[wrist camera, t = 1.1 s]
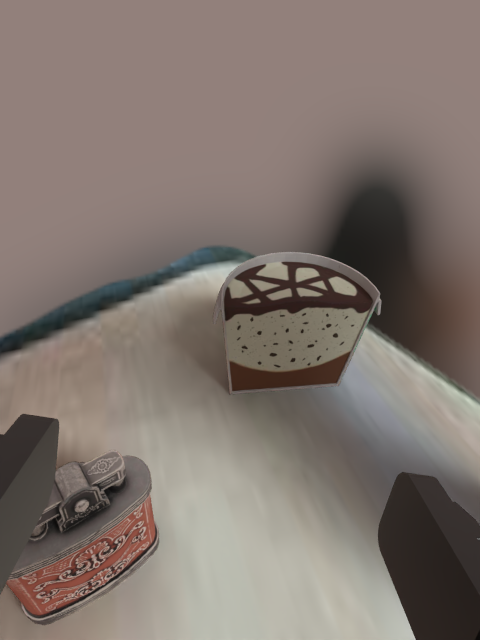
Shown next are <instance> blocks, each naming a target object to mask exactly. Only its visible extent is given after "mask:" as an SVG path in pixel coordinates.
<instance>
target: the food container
mask: <svg viewBox="0 0 480 640" xmlns="http://www.w3.org/2000/svg"><path fill="white" fill-rule="evenodd" d="M379 296H380V292H379V291H378V290H377V288H376V287H375V286H374V285H373V284H372V283H371V282H370V281H369V280H368V279H367V278H366V277H365V276H363V275H362V274H361V273H359V272H358V271H356V270H355V269H353V268H351V267H349V266H347V265H345V264H343V263H341V262H338V261H335V260H333V259H330V258H327V257H323V256H319V255H314V254H308V253H299V252H280V253H272V254H266V255H262V256H258V257H255V258H253V259H250V260H248V261H246V262H244V263H242V264H241V265H239V266H238V267H236V268H235V269H234V270H233V271H232V272H231V273H230V274H229V276H228V277H227V278H226V280H225V282H224V283H223V285H222V287H221V289H220V291H219V294H218V298H217V301H216V304H215V308H214V313H213V324H216V321H217V318H218V314H219V311H220V310H222V320H223V331H224V341H225V352H226V362H227V372H228V383H229V393H230V394H242V393H255V392H268V391H281V390H294V389H307V388H320V387H333V386H339V384H340V382H341V380H342V377H343V375H344V373H345V371H346V369H347V367H348V364H349V362H350V360H351V358H352V356H353V354H354V351H355V349H356V347H357V345H358V343H359V341H360V339H361V336H362V334H363V332H364V330H365V328H366V326H367V323H368V321H369V319H370V317H371V315H372V313H373V310H375V312H376V313H377V315H380V308H381V299H380V298H379Z"/></svg>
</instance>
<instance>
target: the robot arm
mask: <svg viewBox="0 0 480 640" xmlns="http://www.w3.org/2000/svg"><path fill="white" fill-rule="evenodd" d="M58 434H59V421H58V419H54V418H47V417H40V416H34V415H27V414H22V415H20V417H19V418H18V419H17V420H16V421H15V422H14V424H13V425H12V426H11V427H10V429H9V430H8V431H7V432H6V433H5V435H1V434H0V594H1V592H2V590H3V588H4V586H5V584H6V582H7V580H8V578H9V576H10V575H11V573H12V571H13V569H14V567H15V565H16V563H17V561H18V559H19V557H20V555H21V554H22V552H23V550H24V548H25V546H26V544H27V542H28V540H29V538H30V536H31V534H32V533H33V531H34V529H35V527H36V525H37V523H38V521H39V519H40V517H41V515H42V514H43V512H44V510H45V508H46V506H47V504H48V501H49V499H50V496H51V493H52V489H53V485H54V480H55V472H56V459H57V447H58ZM378 541H379V547H380V551H381V554H382V556H383V559H384V561H385V564H386V566H387V569H388V571H389V574H390V576H391V579H392V581H393V584H394V586H395V589H396V591H397V594H398V596H399V599H400V601H401V604H402V606H403V609H404V611H405V614H406V616H407V619H408V621H409V624H410V626H411V629H412V631H413V634H414V636H415V639H416V640H480V526H479V524H478V523H477V521H476V520H475V519H474V518H473V517H472V516H471V515H470V514H468V513H467V512H466V511H465V510H464V509H463V508H462V507H461V506H459V505H458V504H457V503H456V502H452V501H451V499H450V498H449V496H448V495H447V493H446V492H445V490H444V489H443V487H442V486H441V484H440V483H439V481H438V480H437V479H436V478H434V477H431V476H425V475H418V474H411V473H405V472H402V473H400V474H399V475H398V476H397V478H396V480H395V483H394V485H393V488H392V491H391V494H390V496H389V499H388V502H387V504H386V507H385V510H384V513H383V515H382V518H381V521H380V524H379V530H378Z"/></svg>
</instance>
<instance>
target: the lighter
mask: <svg viewBox="0 0 480 640" xmlns="http://www.w3.org/2000/svg"><path fill="white" fill-rule="evenodd" d="M151 489H152V486H151V474H150V471H149V469H148V466H147V465H146V464H145V463H144V462H143V461H142V460H141V459H139V458H137V457H134V456H121V454H120V453H119V452H118V451H116V450H111V451H108V452H106V453H104V454H102V455H100V456H98V457H96V458H94V459H92V460H91V461H89V462H87V463H84V462H81V463H79V462H70V463H67V464H65V465H63V466H61V467H59V468H58V469H57V470H56V472H55V480H54V485H53V489H52V493H51V496H50V499H49V501H48V504H47V506H46V508H45V510H44V512H43V514H42V515H41V517H40V519H39V521H38V523H37V525H36V527H35V529H34V531H33V533H32V534H31V536H30V538H29V540H28V542H27V544H26V546H25V548H24V550H23V552H22V554H21V555H20V557H19V559H18V561H17V563H16V565H15V567H14V569H13V571H12V573H11V575H10V576H9V578H8V580H7V582H6V584H7V585H8V586H9V588H10V589H11V590H12V591H13V593H14V594H15V595H16V596H17V598H18V599H19V600H20V601H21V606H22V609H23V610H24V612H25V614H26V615H27V617H28V618H29V619H30V620H31V621H33V622H34V623H35V624H39V625H46V624H51V623H53V622H55V621H57V620H59V619H62V618H64V617H66V616H68V615H70V614H72V613H75V612H77V611H79V610H81V609H83V608H84V607H86V606H88V605H89V604H91V603H93V602H94V601H96V600H98V599H99V598H101V597H103V596H104V595H106V594H108V593H109V592H110V591H112V590H113V589H114V588H116V587H117V586H118V585H119V584H121V583H122V582H123V581H125V580H126V579H127V578H128V577H130V576H131V575H132V574H133V573H134V572H136V571H137V570H138V569H139V568H140V567H141V566H142V565H143V564H144V563H145V562H146V561H147V560H148V559H149V558H150V557H151V556H152V555H153V554H154V553H155V551H156V550H157V548H158V545H159V531H158V527H157V525H156V522H155V521H154V518H153V511H152V505H151V498H150V492H151Z"/></svg>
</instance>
